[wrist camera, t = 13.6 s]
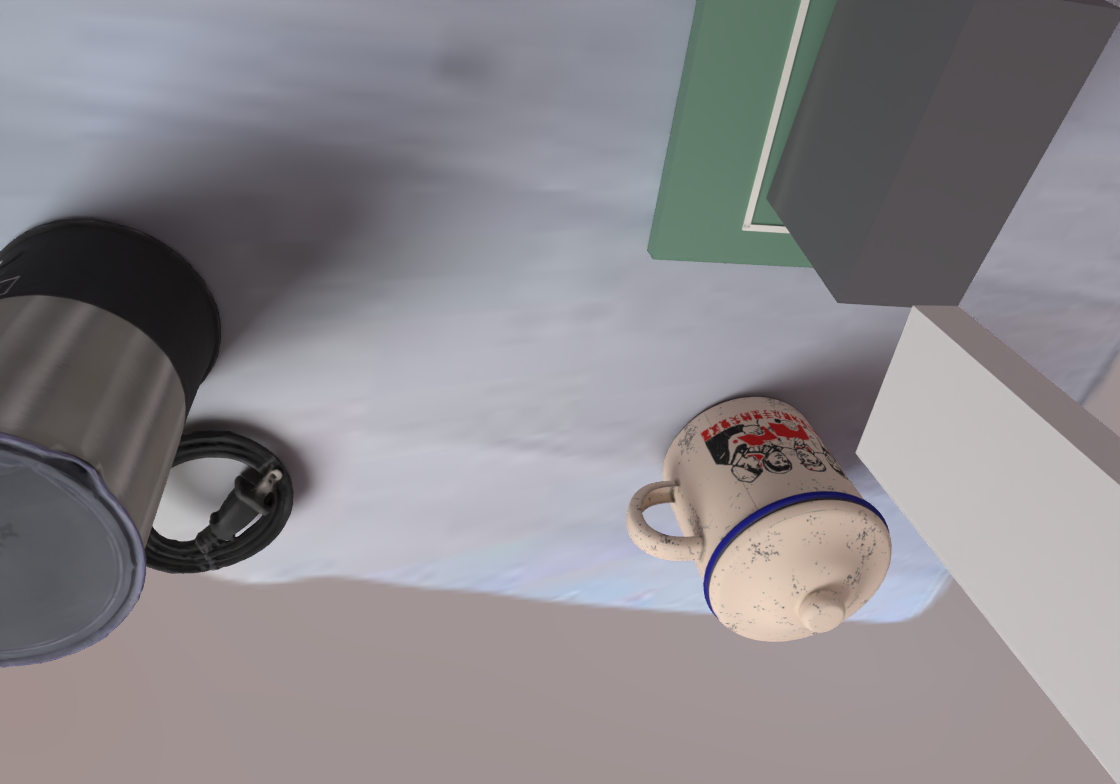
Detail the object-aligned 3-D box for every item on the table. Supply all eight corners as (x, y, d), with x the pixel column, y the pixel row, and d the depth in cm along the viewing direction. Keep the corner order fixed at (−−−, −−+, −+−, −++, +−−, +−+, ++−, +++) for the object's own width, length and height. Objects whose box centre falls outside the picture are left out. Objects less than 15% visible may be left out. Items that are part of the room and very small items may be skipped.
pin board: (647, 250, 39) (671, 289, 35) (729, -166, 30) (772, -165, 27) (918, 265, 42) (963, 302, 38) (1062, -109, 33) (1137, -103, 30)
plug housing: (766, 198, 37) (837, 302, 31) (927, -252, 27) (1078, -225, 21) (867, 207, 38) (955, 310, 32) (1058, -222, 28) (1237, -188, 22)
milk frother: (37, 168, 32) (-174, 371, 20) (394, 354, 39) (398, 588, 27) (-86, 429, 37) (-314, 718, 25) (251, 553, 44) (200, 825, 32)
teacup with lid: (834, 389, 45) (956, 539, 36) (790, 519, 50) (886, 681, 40) (618, 388, 43) (686, 548, 33) (593, 524, 47) (646, 698, 38)
